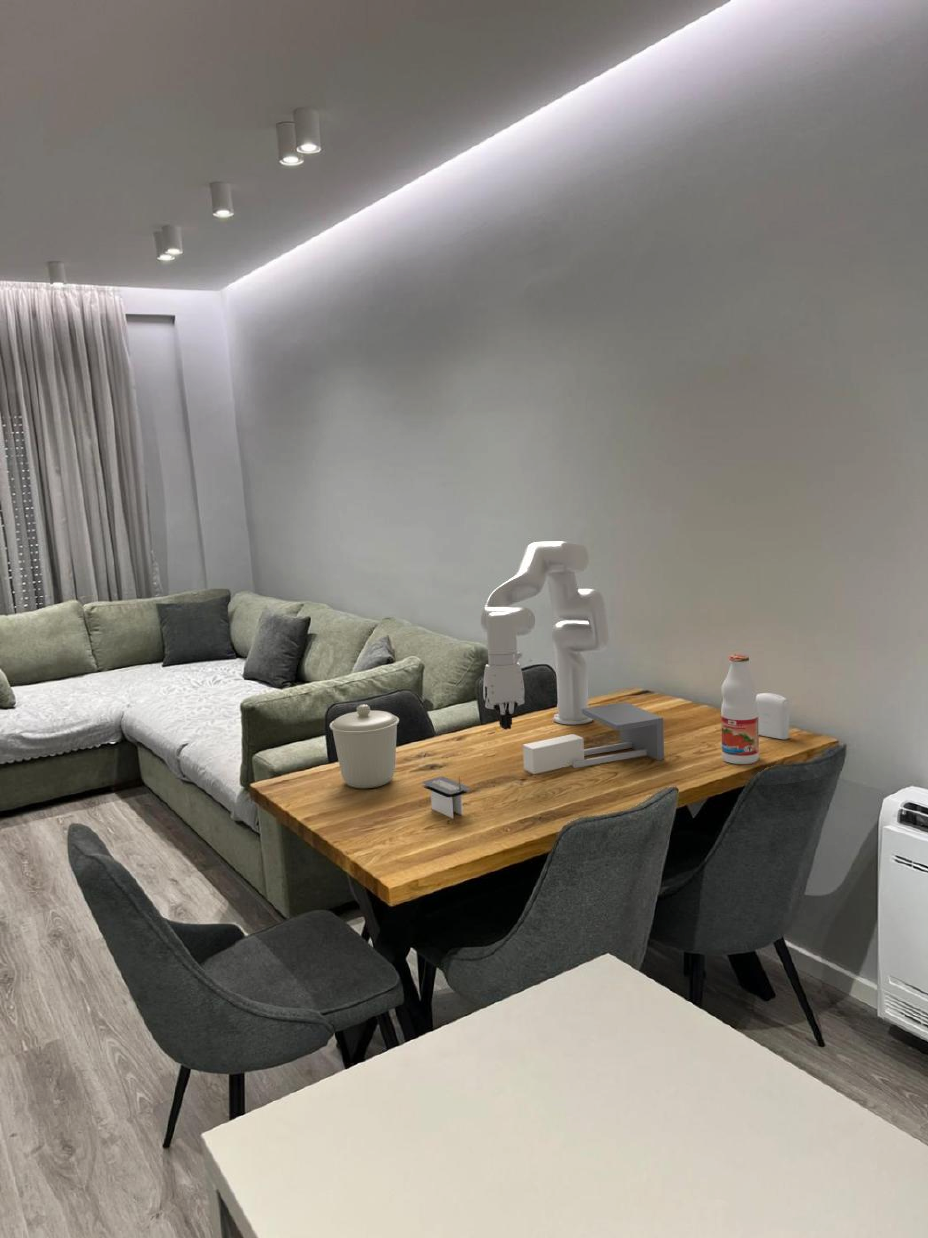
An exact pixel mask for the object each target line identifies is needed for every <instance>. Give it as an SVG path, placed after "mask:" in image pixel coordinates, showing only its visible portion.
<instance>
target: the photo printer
mask: <svg viewBox="0 0 928 1238" xmlns="http://www.w3.org/2000/svg"><path fill="white" fill-rule="evenodd" d="M756 703H757V705H758V713H759V716H758V724H759V736H761V737H762V736H763V737H768V738H773V739H779V740H782V741H783V740H784V741H785V740H787V739H789V738H790V703H789V700H788V698H786V697H784V696H783V695H780V694H778V693H777V694H776V693H770V692H763V693H757V696H756Z"/></svg>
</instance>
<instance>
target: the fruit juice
mask: <svg viewBox="0 0 928 1238" xmlns="http://www.w3.org/2000/svg"><path fill="white" fill-rule="evenodd" d="M728 659H729V663H730V666H729V668H728V673H727V675H726V677H725V679H724V680H723V683H722V684H721V690H720V691H721V694H722V699H723V700H722V703H721V709H720V711H721V712H720V715H721V716H720V718H721V720H720V721H721V722H720V723H721V725H720V726H721V729H720V731H721V758H722V760H723V761H724V762H725V763H726V762H727V763H728V764H733V765H749V764H754V763H757V762H758V760H759V757H760V753H759V752H760V751H759V748H760V747H759V736H760V735H759V724H758V716H759V713H758V705H757V703H756V696H757V695H758V693H759V690H758V689H759V688H758V684H757V682H756V681H755V679H754V678H753V676H752V673H751V670H750V667H749V661H750V657H749V655H747V654H742V653H741V654H740V653H739V654H738V653H736V654H730V655H729V658H728Z"/></svg>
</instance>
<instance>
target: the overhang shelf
mask: <svg viewBox="0 0 928 1238" xmlns="http://www.w3.org/2000/svg"><path fill="white" fill-rule="evenodd" d="M582 714H583V715H585V716H587V717H589V718H591V719H593V720H594V721H595V722H597V723H599V724H601V725H604V726H606V727H608V728H610V729H612V730H614V731H616V732H619V731H620V735H619V736H620V743H619V742H618V743H613V744H608V745H607V744H606V745H602V746H596V747H589V748H584V757H585V756H592V755H598V754H602V753H608V752H615V751H620V750H625V749H630V748H632V749H633V750H630V751H626V752H620V753H614V754H608V755H603V756H597V757H591V758H584V760H579V761H573V765H572V768H574V769H577V768H583V767H587V766H594V765H599V764H604V763H610V762H616V761H621V760H628V759H633V758H638V757H644V756H648V757H650V758H652V759H654V758H655V759H654V760H656V761H662V759H663V760H665V744H664V743H665V742H664V741H665V739H664V738H665V735H664V717H662V716H659V715H657V714H656V713H653V712H650V711H648V710H645V709H644V708H641V707H639V706H637V705H634V704H631V703H630V702H626V701H623V702H617V703H611V704H604V705H603V704H602V705H597V706H592V707H591V706H589V707H588V708H583V709H582ZM593 720H592V721H593Z"/></svg>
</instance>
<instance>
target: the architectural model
mask: <svg viewBox="0 0 928 1238" xmlns="http://www.w3.org/2000/svg"><path fill="white" fill-rule="evenodd" d="M421 784H423V785H421V786H422V788H425V789H427V790H429V791H430V802H431V803H430V804H431V809H432V810H433V811H436V812H437V813H439V814H442V815H445V816H447V817H449V818H451V819H454V813H456V814H459V815H461V816H463V814H464V812H463V811H464V810H463V795H464V794H465V795H466V794H467V793H469V792H470V790H469V788H470V786H467V785H466V784H463V783H461V777H460V776H458V781H455V780H453V779H450V778H448V777H446V776H437V777H435V778H432V779H431V778H430V779H427V780H424V781H422V782H421Z"/></svg>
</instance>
